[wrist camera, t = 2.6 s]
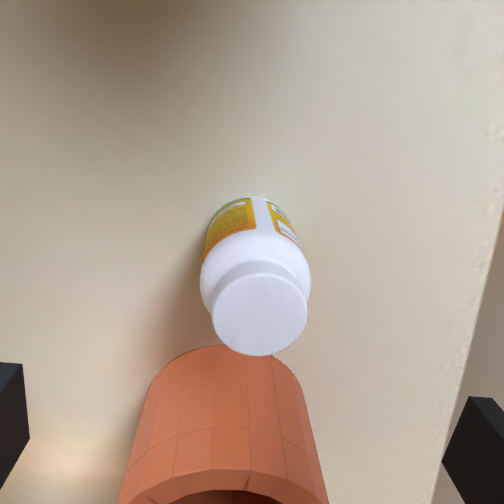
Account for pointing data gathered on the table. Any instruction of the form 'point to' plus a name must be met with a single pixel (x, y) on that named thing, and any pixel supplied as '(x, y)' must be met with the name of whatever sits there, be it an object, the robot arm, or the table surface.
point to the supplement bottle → (254, 277)
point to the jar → (223, 435)
